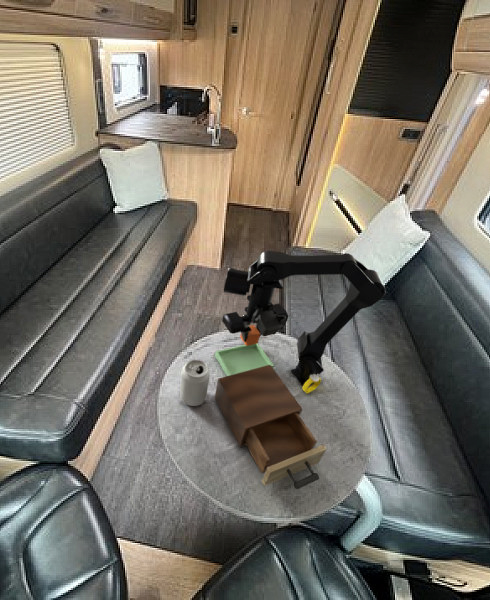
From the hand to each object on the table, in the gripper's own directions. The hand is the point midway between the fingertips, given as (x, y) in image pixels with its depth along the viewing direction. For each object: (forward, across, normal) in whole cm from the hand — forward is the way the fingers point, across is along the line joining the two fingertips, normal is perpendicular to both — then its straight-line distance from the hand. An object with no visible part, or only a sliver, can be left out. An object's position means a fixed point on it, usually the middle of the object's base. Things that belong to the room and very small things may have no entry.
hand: (250, 339), depth 96 cm
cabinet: (+11, -6, -16) cm, 20 cm away
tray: (+11, 0, +1) cm, 11 cm away
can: (+11, -20, -6) cm, 24 cm away
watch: (+11, +14, -15) cm, 24 cm away
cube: (+1, 0, +1) cm, 1 cm away
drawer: (+10, -6, -29) cm, 31 cm away
